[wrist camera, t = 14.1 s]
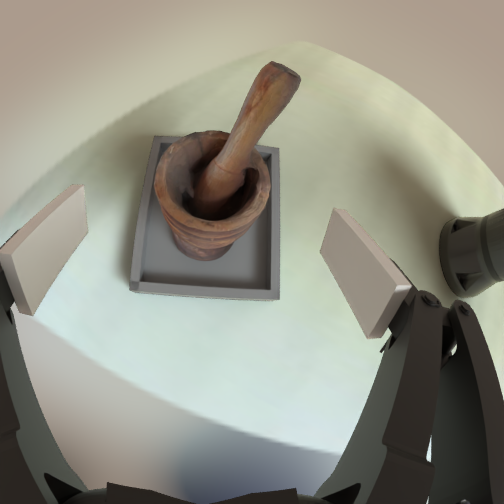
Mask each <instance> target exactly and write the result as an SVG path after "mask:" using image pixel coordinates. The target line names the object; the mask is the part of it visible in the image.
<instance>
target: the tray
mask: <svg viewBox="0 0 504 504" xmlns="http://www.w3.org/2000/svg"><path fill="white" fill-rule="evenodd" d="M180 138H183V137H170V136H154V140H153V144H152V148H151V152H150V157H149V161H148V166H147V170H146V175H145V180H144V185H143V190H142V196H141V201H140V207H139V213H138V220H137V226H136V233H135V241H134V248H133V257H132V266H131V276H130V288H129V290H130V291H132V292H135V293H145V294H156V295H168V296H182V297H196V298H212V299H231V300H253V301H275V300H280V167H279V148H274V147H268V146H261V145H255V146H254V147H255V148H256V149H257V151H258V152H259V153H260V154H261V156H262V158H263V161H264V162H265V164H266V166H267V168H268V171H269V176H270V183H271V189H270V192H269V197H268V199H267V202H266V206H265V209H264V210H263V211H262V212H261V214H260V216H259V217H258V218H257V219H256V220H255V221H254V223H253V224H252V226H251V227H250V228H249V229H248V231H247V232H246V233H245V234H244V235H243V236H241V237H240V238H239V239H237V240H236V241H234V243H233V245H232V247H231V248H230V250H229V251H228V252H227V253H226V254H224V255H223V256H222V257H220V258H218V259H216V260H212V261H199V260H195V259H192V258H189V257H187V256H185V255H184V254H183V253H182V252H180V251H179V250H178V248H177V246H176V244H175V241H174V239H173V236H172V229H171V228H170V226H169V224H168V223H167V221H166V220H165V218H164V216H163V213H162V210H161V206H160V203H159V200H158V197H157V195H156V193H155V189H154V182H155V175H156V170H157V166H158V164H159V161H160V159H161V157H162V155H163V154H164V152H165V151H166V150H167V149H168V147H170V146H171V145H172V144H173V143H174V142H176V141H177V140H179V139H180Z"/></svg>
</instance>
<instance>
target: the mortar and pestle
mask: <svg viewBox="0 0 504 504" xmlns="http://www.w3.org/2000/svg"><path fill="white" fill-rule="evenodd" d="M300 82H301V78H300V76H299V75H298V74H297V73H296V72H294V71H293V70H291V69H289V68H288V67H286V66H284V65H282V64H279V63H276V62H273V61H271V62H270V63H268V64H267V65H265V66H264V67H263V68H262V69H261V71H260V72H259V74H258V75H257V77H256V78H255V80H254V82H253V84H252V86H251V88H250V90H249V92H248V95H247V97H246V99H245V101H244V104H243V106H242V109H241V111H240V113H239V116H238V118H237V120H236V122H235V125H234V127H233V129H232V131H231V133H226V132H222V131H205V132H194V133H192V134H189V135H187V136H185V137H183V138H180V139H179V140H177V141H176V142H174V143H173V144H172V145H171V146H170V147H168V149H167V150H166V151H165V152H164V154H163V155H162V157H161V159H160V161H159V164H158V166H157V170H156V175H155V182H154V189H155V193H156V195H157V197H158V200H159V203H160V206H161V210H162V213H163V216H164V218H165V220H166V221H167V223H168V224H169V226H170V228H171V229H172V236H173V239H174V241H175V244H176V246H177V248H178V250H179V251H180V252H182V253H183V254H184V255H185V256H187V257H189V258H192V259H195V260H199V261H212V260H216V259H218V258H220V257H222V256H223V255H224V254H226V253H227V252H228V251H229V250H230V248H231V247H232V245H233V243H234V241H236V240H237V239H239V238H240V237H241V236H243V235H244V234H245V233H246V232H247V231H248V229H249V228H250V227H251V226H252V224H253V223H254V221H255V220H256V219H257V218H258V217H259V216H260V214H261V212H262V211H263V210H264V209H265V206H266V202H267V199H268V197H269V192H270V189H271V183H270V176H269V171H268V168H267V166H266V164H265V162H264V161H263V158H262V156H261V154H260V153H259V152H258V151H257V149H256V148H255V147H254V146H255V145H256V143H257V142H258V140H259V139H260V138H261V136H262V135H263V133H264V132H265V130H266V129H267V128H268V126H269V125H270V124H272V123H273V121H274V120H275V119H276V118H277V117H278V115H279V114H280V113H281V112H282V111H283V109H284V108H285V107H286V106H287V104H288V103H289V102H290V100H291V98H292V97H293V95H294V93H295V92H296V91H297V89H298V87H299V84H300Z"/></svg>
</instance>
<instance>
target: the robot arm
mask: <svg viewBox="0 0 504 504" xmlns="http://www.w3.org/2000/svg"><path fill="white" fill-rule="evenodd" d="M87 233H88V225H87V216H86V205H85V191H84V185H71V186H70V187H68V188H67V189H66V190H65V191H63V192H62V193H61V194H60V195H58V196H57V197H56V198H55V199H53V200H52V201H51V202H50V203H49V204H48V205H46V206H45V207H44V208H43V209H42V210H41V211H39V212H38V213H37V214H36V215H35V216H34V217H33V218H32V219H31V220H29V221H28V222H27V223H26V224H25V225H24V226H23V227H22V228H21V229H19V230H17V231H16V232H15V233H14V234H13V235H12V236H11V238H9V239H8V240H7V241H6V243H4V244H3V245H2V246H1V247H0V504H195V503H191V502H188V501H184V500H180V499H177V498H173V497H170V496H167V495H164V494H161V493H158V492H155V491H152V490H146V489H139V488H133V487H128V486H122V485H118V484H113V483H109V482H107V488H102V489H94V490H88V489H87V487H86V486H85V485H84V483H83V482H82V480H81V479H80V478H79V477H78V476H77V474H76V473H75V472H74V471H73V470H72V469H71V467H70V466H69V465H68V463H67V462H66V460H65V458H64V457H63V455H62V453H61V451H60V449H59V447H58V445H57V443H56V441H55V439H54V437H53V435H52V433H51V431H50V429H49V427H48V425H47V422H46V420H45V418H44V415H43V413H42V411H41V408H40V406H39V403H38V400H37V398H36V395H35V392H34V389H33V387H32V384H31V381H30V378H29V375H28V372H27V368H26V365H25V362H24V358H23V354H22V351H21V347H20V343H19V339H18V334H17V330H16V325H15V320H14V315H13V313H12V310H11V308H10V307H11V306H12V304H13V303H14V301H15V304H16V306H17V308H18V310H19V312H20V313H22V314H26V315H31V316H33V315H34V314H35V312H36V310H37V308H38V307H39V305H40V303H41V302H42V300H43V298H44V296H45V295H46V293H47V292H48V290H49V288H50V287H51V285H52V284H53V282H54V280H55V279H56V277H57V276H58V274H59V273H60V271H61V270H62V268H63V267H64V265H65V264H66V262H67V261H68V259H69V258H70V257H71V255H72V254H73V252H74V251H75V250H76V248H77V247H78V245H79V244H80V243H81V241H82V240H83V239H84V237H85V236H86V235H87ZM320 253H321V255H322V257H323V258H324V260H325V262H326V264H327V265H328V267H329V269H330V271H331V273H332V274H333V276H334V278H335V280H336V281H337V283H338V285H339V287H340V289H341V291H342V292H343V294H344V296H345V298H346V300H347V302H348V304H349V305H350V307H351V309H352V311H353V313H354V315H355V317H356V319H357V321H358V323H359V324H360V326H361V328H362V330H363V332H364V334H365V336H366V338H367V339H373V338H381V337H382V336H383V334H384V333H385V331H386V330H387V328H388V327H389V329H390V331H391V333H392V334H391V336H390V337H389V339H388V340H387V342H386V343H385V345H384V346H383V348H382V349H381V350H380V352H381V353H382V352H383V351H384V354H383V357H382V360H381V363H380V366H379V369H378V372H377V375H376V378H375V380H374V383H373V386H372V389H371V391H370V394H369V396H368V399H367V402H366V404H365V406H364V409H363V411H362V414H361V416H360V418H359V421H358V423H357V425H356V428H355V430H354V432H353V434H352V436H351V438H350V440H349V443H348V445H347V447H346V449H345V451H344V453H343V455H342V457H341V459H340V461H339V462H338V465H337V466H336V468H335V470H334V472H333V473H332V474H331V476H330V477H329V478H328V479H327V480H326V481H325V482H324V483H323V484H322V486H321V487H320V488H319V489H318V491H317V492H316V494H315V495H314V497H312V496H308V495H302V494H297V491H296V488H293V489H286V490H279V491H270V492H262V493H261V492H260V493H251V494H247V495H243V496H240V497H236V498H232V499H228V500H225V501H220V502H216V503H211V504H426V502H427V499H428V496H429V501H428V504H504V400H503V396H502V392H501V388H500V384H499V380H498V377H497V373H496V370H495V367H494V363H493V360H492V357H491V354H490V351H489V348H488V346H487V343H486V340H485V337H484V335H483V332H482V329H481V327H480V324H479V322H478V319H477V317H476V315H475V313H474V311H473V309H472V308H471V307H470V305H469V304H467V303H466V302H463V301H460V300H455V301H454V303H453V304H452V306H451V307H450V309H449V308H445V307H442V305H441V302H440V301H439V300H438V299H437V298H436V297H435V296H434V295H433V294H431V293H429V292H427V291H423V290H420V291H418V290H417V289H416V287H415V286H414V285H413V284H412V282H411V281H410V280H409V279H408V277H407V276H406V275H404V273H403V271H402V270H400V268H399V267H398V265H397V264H396V263H395V262H394V261H393V260H391V259H390V258H389V257H388V256H387V255H386V254H385V253H384V251H383V250H382V249H381V248H380V247H379V246H378V245H377V243H376V242H375V241H374V240H373V239H372V238H371V237H370V236H369V235H368V233H367V232H366V231H365V230H364V229H363V228H362V227H361V226H360V225H359V224H358V223H357V221H356V220H355V219H354V218H353V217H352V216H351V215H350V214H349V213H348V212H347V211H346V210H342V209H336V208H333V211H332V214H331V218H330V221H329V224H328V228H327V231H326V234H325V237H324V240H323V243H322V246H321V250H320ZM440 260H441V265H442V269H443V273H444V276H445V278H446V281H447V283H448V285H449V286H450V288H451V290H452V291H453V292H454V293H455V294H456V295H457V296H459V297H461V298H468V297H474V296H477V295H478V294H480V293H482V292H483V291H485V290H486V289H488V288H489V287H491V286H492V285H494V284H495V283H497V282H500V281H504V208H503V209H501V210H499V211H496V212H494V213H492V214H489V215H487V216H485V217H459V218H456V219H453V220H451V221H449V222H447V223H446V224H445V226H444V227H443V230H442V232H441V237H440ZM456 344H457V349H456V352H455V353H454V355H452V353H451V351H452V349H453V348H454V347H455V345H456ZM430 438H431V462H429V461H427V459H426V456H427V451H428V447H429V442H430Z"/></svg>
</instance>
